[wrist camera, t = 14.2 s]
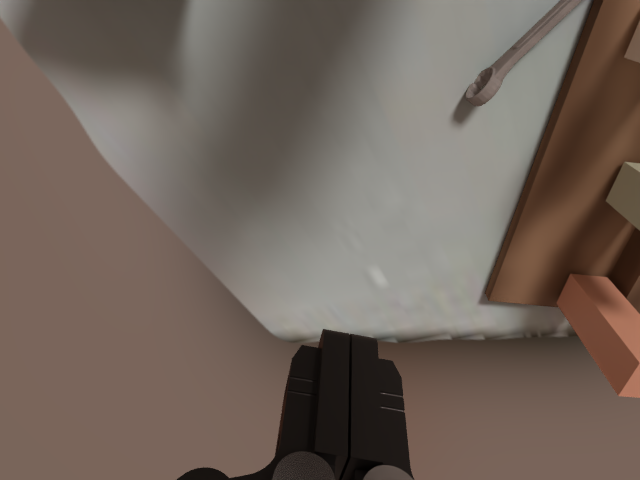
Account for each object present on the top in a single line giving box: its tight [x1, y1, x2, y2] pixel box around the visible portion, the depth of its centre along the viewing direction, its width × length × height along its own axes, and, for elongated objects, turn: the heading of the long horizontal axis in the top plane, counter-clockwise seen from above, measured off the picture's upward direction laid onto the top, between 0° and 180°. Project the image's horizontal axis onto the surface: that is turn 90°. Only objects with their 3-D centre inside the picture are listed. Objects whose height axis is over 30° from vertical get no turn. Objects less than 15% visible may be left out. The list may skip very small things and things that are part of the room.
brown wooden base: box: [485, 0, 640, 314], centre depth 37 cm, size 13×27×4 cm, turn 174°
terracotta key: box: [556, 274, 640, 398], centre depth 39 cm, size 4×4×11 cm
